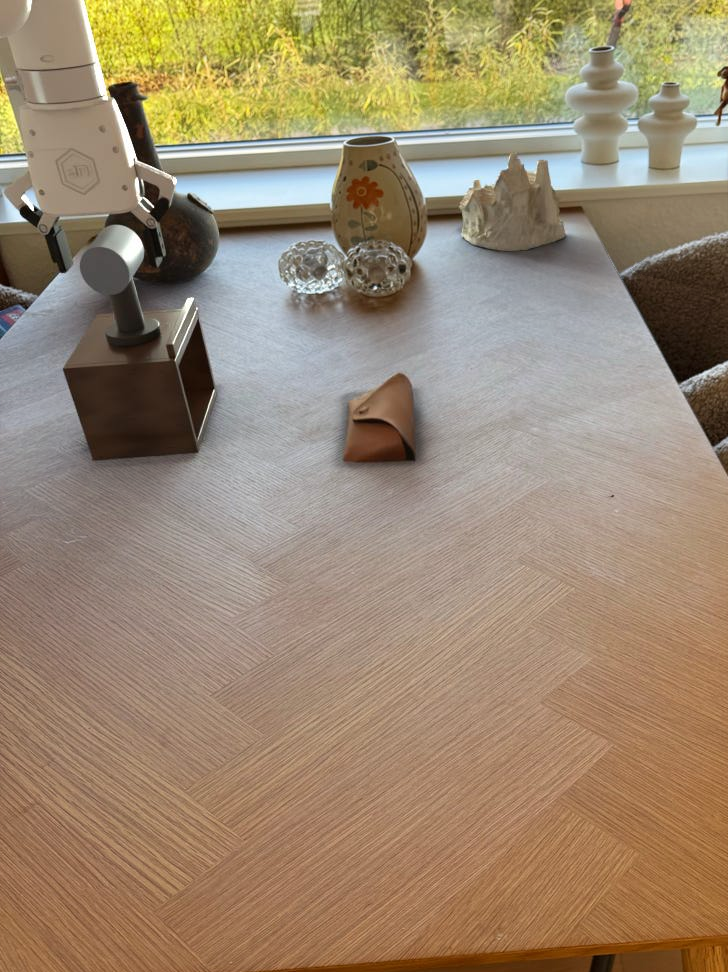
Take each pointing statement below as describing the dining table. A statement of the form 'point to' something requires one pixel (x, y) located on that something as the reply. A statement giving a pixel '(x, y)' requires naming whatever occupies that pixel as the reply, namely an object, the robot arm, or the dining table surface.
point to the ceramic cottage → (513, 209)
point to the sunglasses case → (382, 424)
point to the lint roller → (119, 283)
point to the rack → (143, 387)
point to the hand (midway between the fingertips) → (112, 266)
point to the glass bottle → (186, 219)
